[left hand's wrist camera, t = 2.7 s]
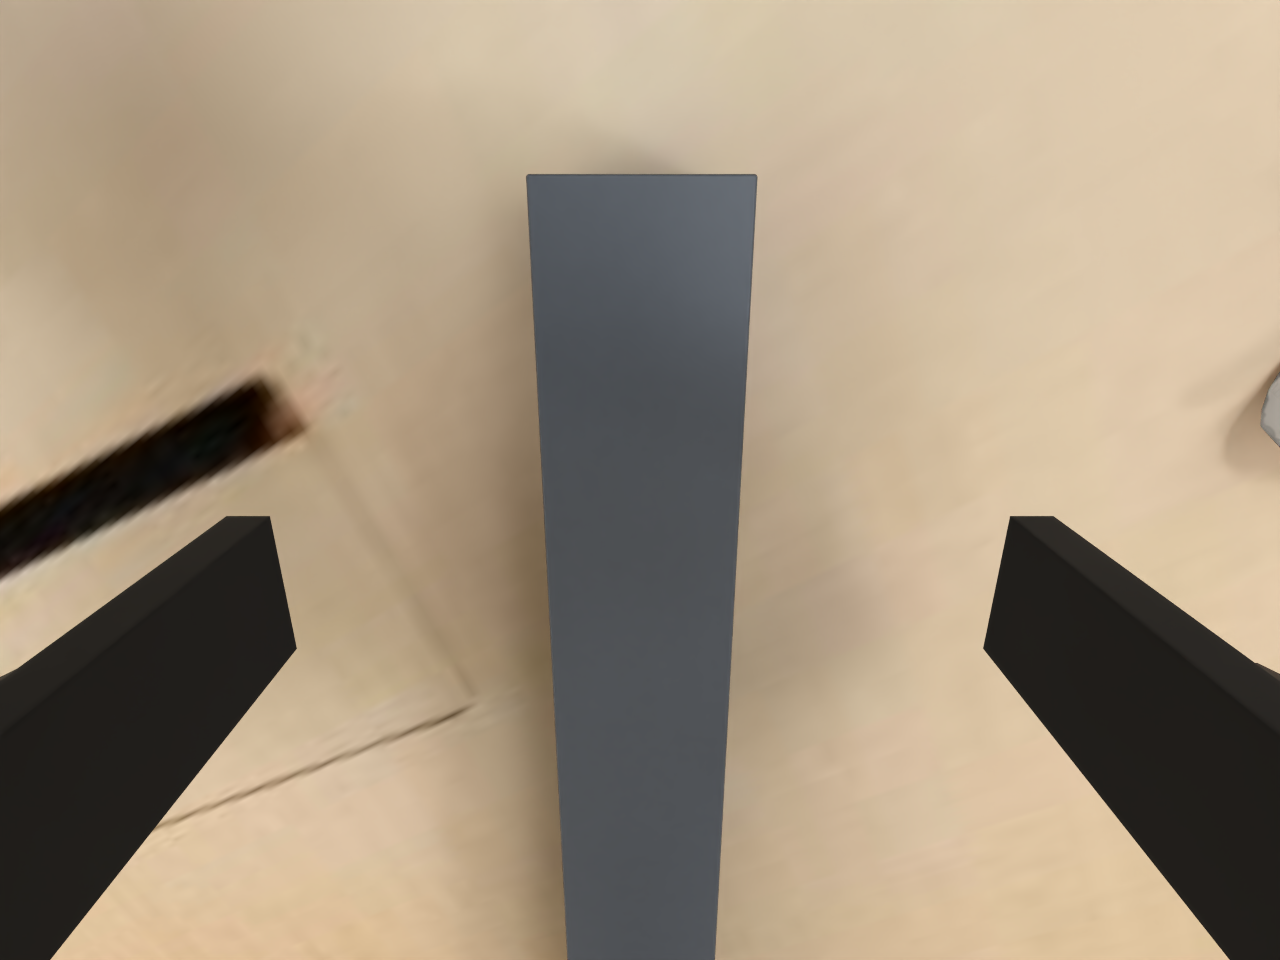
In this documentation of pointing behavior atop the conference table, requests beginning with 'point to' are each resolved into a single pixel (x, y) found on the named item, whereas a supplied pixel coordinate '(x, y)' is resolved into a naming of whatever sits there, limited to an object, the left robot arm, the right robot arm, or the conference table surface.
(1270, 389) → the fish
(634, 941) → the post
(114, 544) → the conference table surface
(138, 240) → the conference table surface
